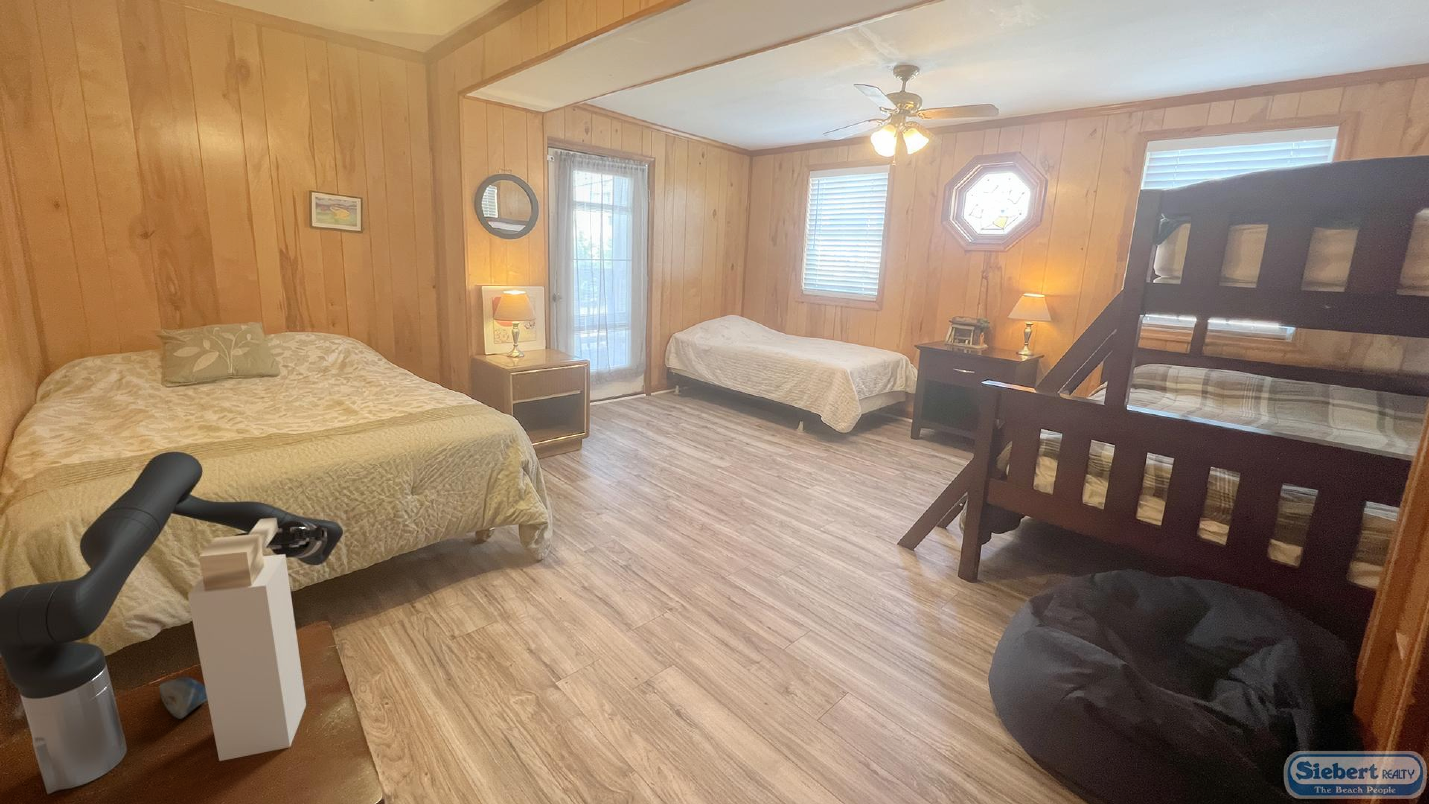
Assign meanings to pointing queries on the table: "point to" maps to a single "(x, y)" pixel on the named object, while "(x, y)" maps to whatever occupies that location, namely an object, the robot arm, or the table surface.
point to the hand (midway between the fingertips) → (270, 536)
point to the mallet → (236, 557)
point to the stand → (250, 661)
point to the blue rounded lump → (182, 695)
